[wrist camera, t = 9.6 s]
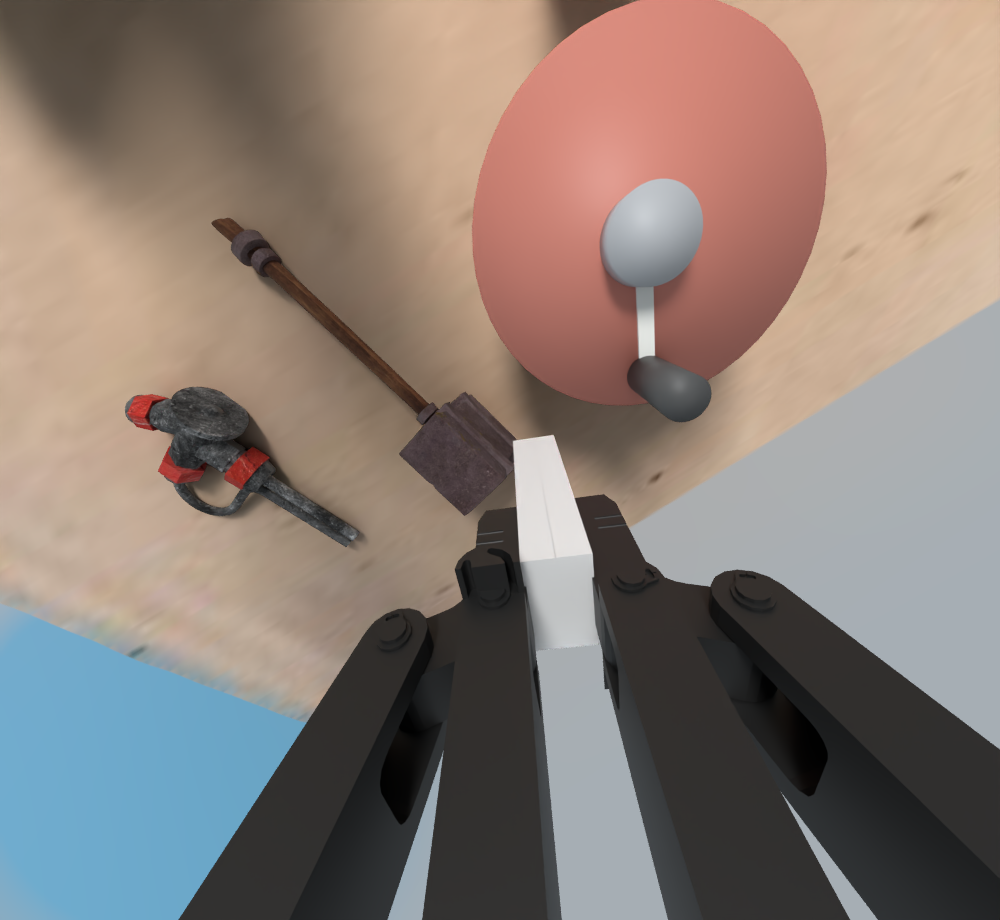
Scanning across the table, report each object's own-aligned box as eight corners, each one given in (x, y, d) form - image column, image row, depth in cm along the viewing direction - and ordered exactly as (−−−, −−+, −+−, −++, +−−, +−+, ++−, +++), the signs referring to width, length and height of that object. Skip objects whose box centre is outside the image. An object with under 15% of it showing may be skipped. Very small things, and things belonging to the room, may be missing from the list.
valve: (136, 441, 44) (173, 352, 37) (327, 557, 52) (385, 501, 46) (81, 471, 39) (112, 374, 32) (303, 595, 47) (365, 538, 40)
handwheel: (445, 98, 22) (402, -38, 13) (793, 4, 21) (1034, -234, 11) (506, 410, 31) (506, 463, 21) (759, 364, 29) (881, 400, 19)
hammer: (484, 486, 41) (462, 526, 32) (259, 271, 39) (161, 245, 29) (527, 445, 39) (516, 476, 30) (292, 214, 36) (197, 167, 27)
